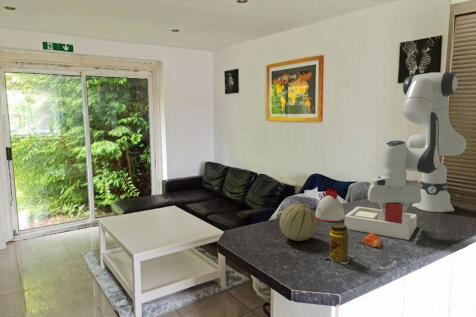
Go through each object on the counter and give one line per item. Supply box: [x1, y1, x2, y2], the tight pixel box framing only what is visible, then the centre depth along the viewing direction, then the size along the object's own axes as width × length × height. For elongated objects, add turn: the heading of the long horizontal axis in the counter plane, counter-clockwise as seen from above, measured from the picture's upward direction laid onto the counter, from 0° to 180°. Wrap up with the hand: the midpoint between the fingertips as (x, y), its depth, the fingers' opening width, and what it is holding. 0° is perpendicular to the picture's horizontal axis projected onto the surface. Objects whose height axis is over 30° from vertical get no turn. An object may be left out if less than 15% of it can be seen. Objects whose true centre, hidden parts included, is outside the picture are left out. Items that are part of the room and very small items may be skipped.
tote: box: [343, 206, 418, 241], centre depth 141 cm, size 18×25×6 cm
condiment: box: [329, 223, 355, 266], centre depth 114 cm, size 7×8×12 cm
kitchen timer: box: [314, 188, 346, 223], centre depth 157 cm, size 14×14×15 cm
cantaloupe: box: [279, 202, 318, 242], centre depth 132 cm, size 15×15×15 cm
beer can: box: [384, 203, 403, 224], centre depth 137 cm, size 7×7×12 cm
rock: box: [363, 233, 383, 248], centre depth 125 cm, size 12×12×4 cm
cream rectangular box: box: [354, 211, 378, 220], centre depth 144 cm, size 8×8×5 cm
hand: (393, 212), depth 137 cm, fingers closed on beer can, 6 cm apart
